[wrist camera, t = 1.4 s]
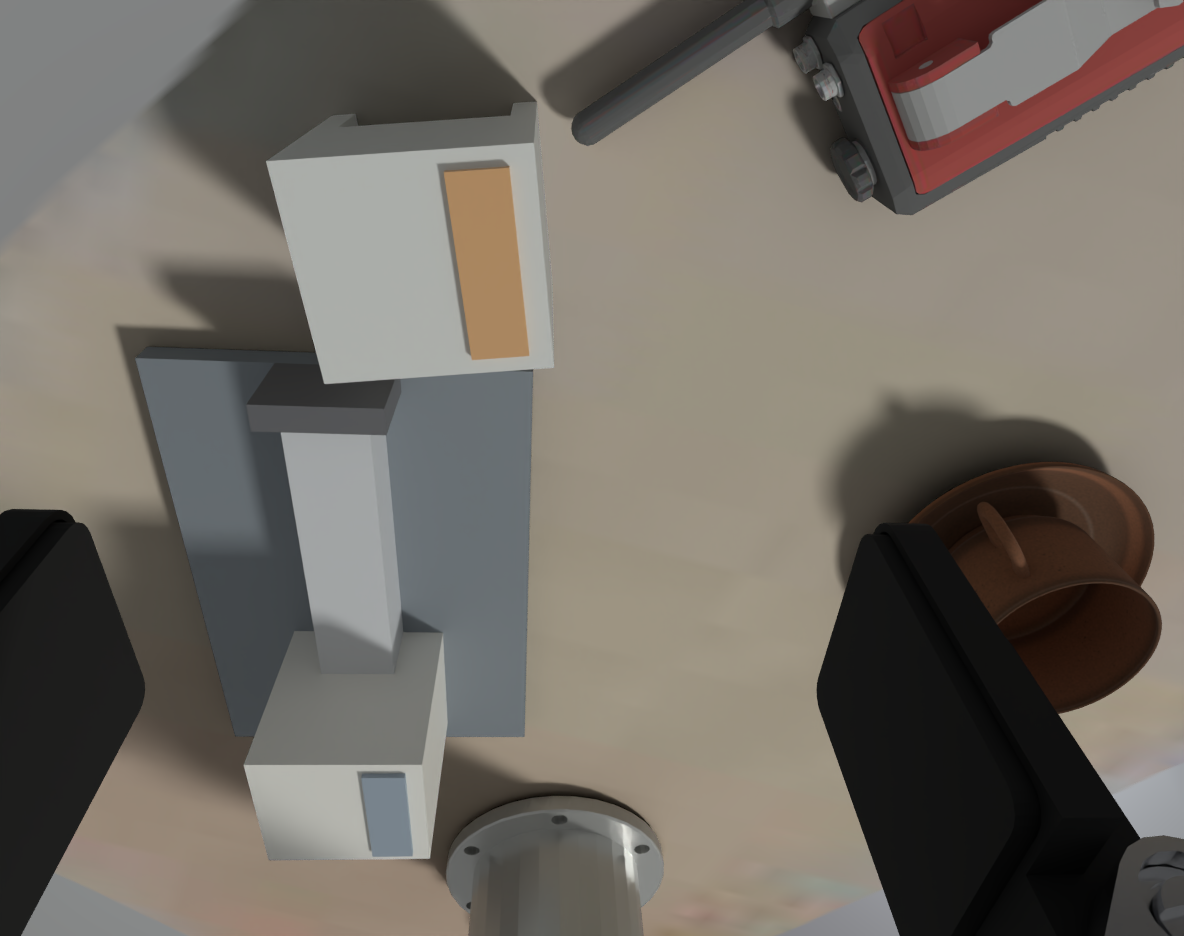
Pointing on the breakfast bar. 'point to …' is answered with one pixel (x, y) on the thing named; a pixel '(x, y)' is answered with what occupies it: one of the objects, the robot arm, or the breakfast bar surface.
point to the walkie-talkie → (931, 79)
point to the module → (420, 245)
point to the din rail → (432, 516)
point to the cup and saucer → (1058, 571)
